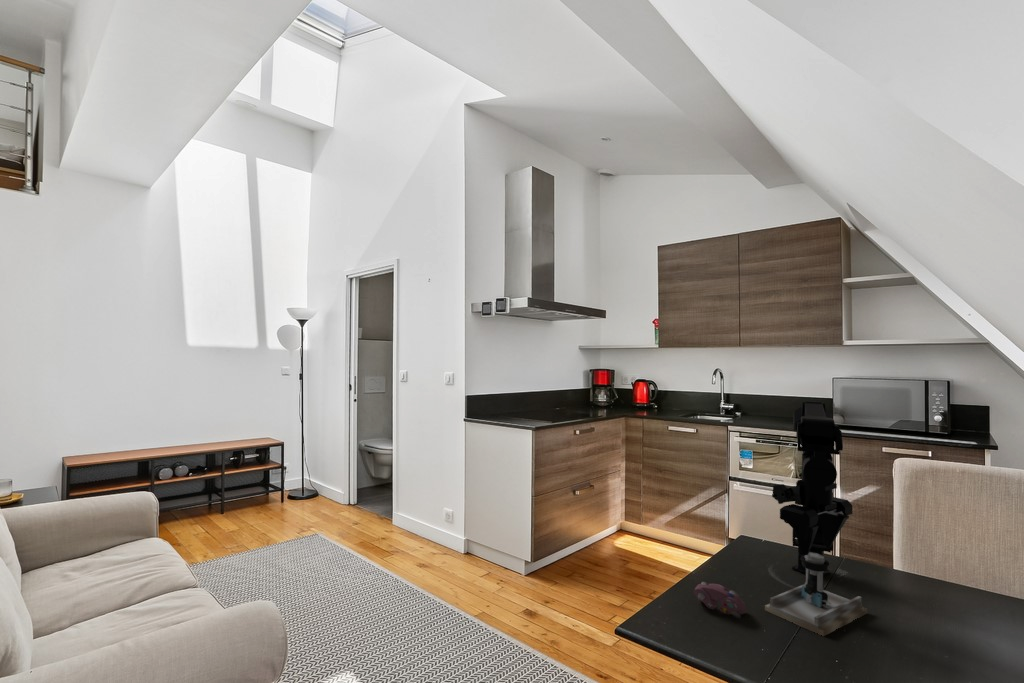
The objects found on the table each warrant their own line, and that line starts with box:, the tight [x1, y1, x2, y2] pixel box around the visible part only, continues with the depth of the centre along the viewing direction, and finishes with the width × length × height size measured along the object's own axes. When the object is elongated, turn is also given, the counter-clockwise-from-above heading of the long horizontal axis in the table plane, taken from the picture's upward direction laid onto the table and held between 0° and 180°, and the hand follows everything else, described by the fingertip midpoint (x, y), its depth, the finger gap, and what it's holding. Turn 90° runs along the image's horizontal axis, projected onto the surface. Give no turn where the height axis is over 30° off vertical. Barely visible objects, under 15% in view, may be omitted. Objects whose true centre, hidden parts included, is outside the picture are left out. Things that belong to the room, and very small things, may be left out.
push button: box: [800, 552, 832, 609], centre depth 112 cm, size 7×5×10 cm
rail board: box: [764, 583, 868, 637], centre depth 111 cm, size 18×12×3 cm, turn 123°
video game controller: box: [693, 581, 747, 616], centre depth 111 cm, size 10×5×7 cm, turn 49°
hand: (816, 550), depth 112 cm, fingers open, 9 cm apart
